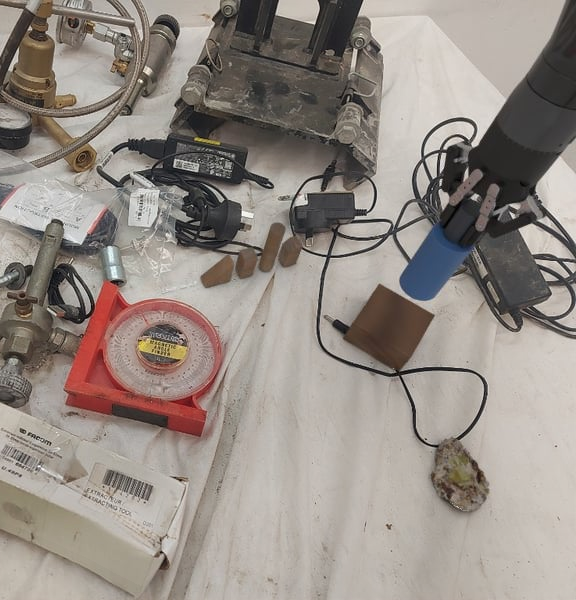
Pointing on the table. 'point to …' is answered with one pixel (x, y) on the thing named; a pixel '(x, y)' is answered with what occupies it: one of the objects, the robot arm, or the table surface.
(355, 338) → the walnut block
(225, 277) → the wood blocks
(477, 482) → the mineral rock
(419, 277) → the bottle
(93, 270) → the table surface
